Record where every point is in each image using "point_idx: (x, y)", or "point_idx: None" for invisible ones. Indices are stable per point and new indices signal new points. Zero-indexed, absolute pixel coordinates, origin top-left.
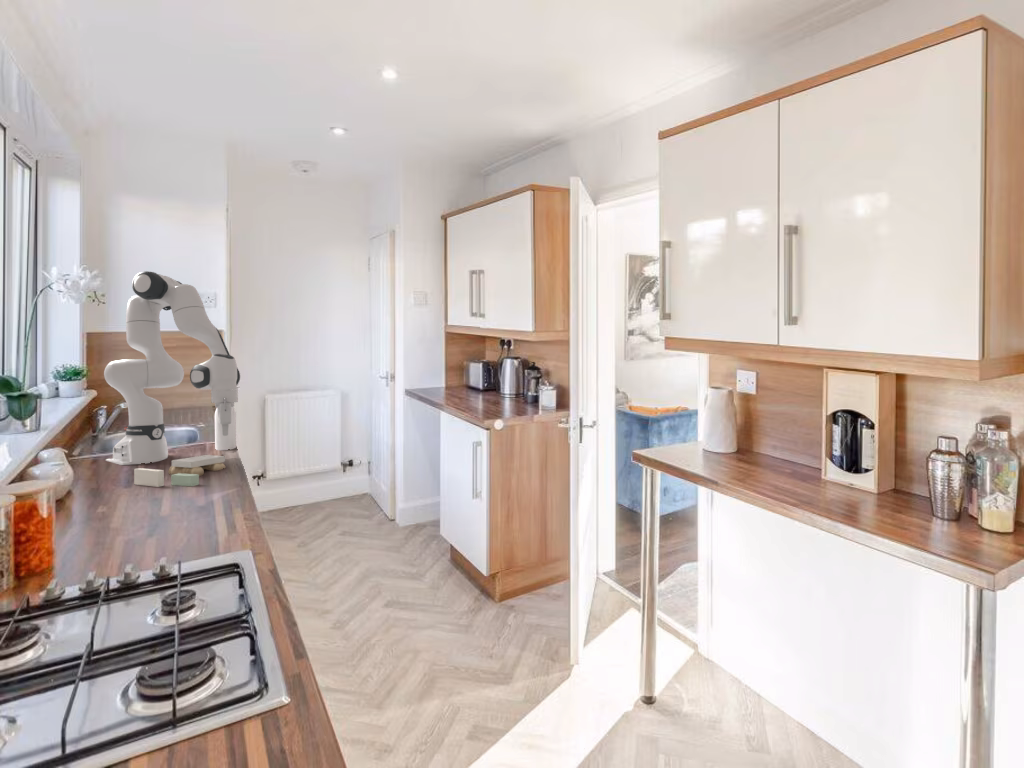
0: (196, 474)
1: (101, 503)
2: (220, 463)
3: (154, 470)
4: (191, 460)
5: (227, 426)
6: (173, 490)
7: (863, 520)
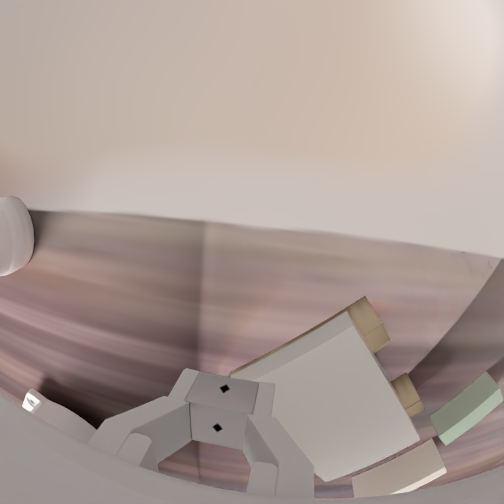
0: (495, 392)
1: (484, 469)
2: (386, 333)
3: (427, 480)
4: (384, 442)
5: (310, 470)
6: (495, 409)
7: None
